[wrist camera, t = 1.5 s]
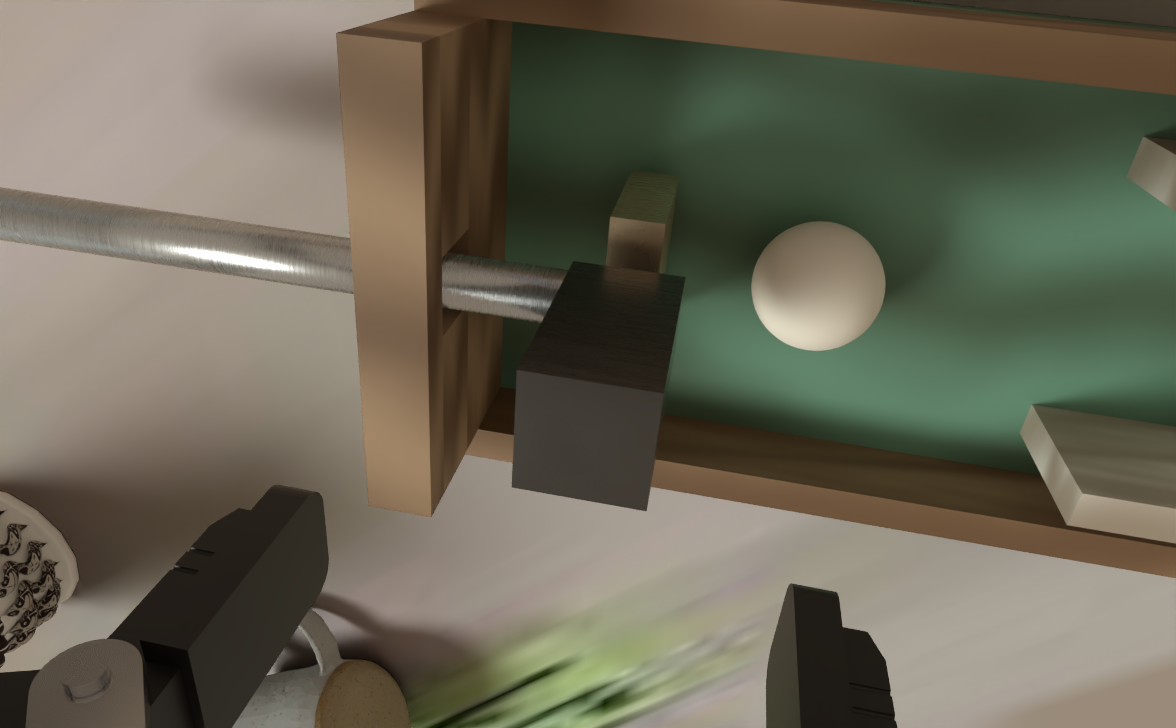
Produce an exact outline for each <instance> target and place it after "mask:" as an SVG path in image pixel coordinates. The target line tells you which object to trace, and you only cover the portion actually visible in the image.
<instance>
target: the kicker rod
mask: <svg viewBox="0 0 1176 728" xmlns="http://www.w3.org/2000/svg"><path fill="white" fill-rule="evenodd" d="M678 181H679V176H673V175H665V174H658V173H650V172H642V171H635V170H632V172H631V174H630V176H629V178H628V180H627V182H626V184H625V187H624V189H623V191H622V193H621V195H620V197H619V199H618V201H617V203H616V206H615V208H614V210H613V212H612V214H611V216H610V225H609V235H608V245H607V256H606V265H599V264H592V263H585V262H578V261H573V262H572V264H571V266H570V268H569V270H565V269H559V268H552V267H545V266H538V265H531V264H524V263H517V262H510V261H504V260H497V259H490V258H483V257H476V256H469V255H462V254H455V253H449V252H447V253H446V254H445V255H444V256H443V258H442V308H447V309H453V310H460V311H466V312H473V313H479V314H486V315H493V316H499V317H506V318H512V319H519V320H525V321H532V322H538V323H541V324H540V326H539V328H538V330H537V332H536V334H535V336H534V338H533V340H532V342H531V343H530V345H529V347H528V349H527V351H526V353H525V355H524V357H523V359H522V361H521V363H520V365H519V367H518V369H517V376H516V400H515V423H514V447H513V471H512V487H513V488H519V489H525V490H530V491H536V492H542V493H547V494H553V495H558V496H564V497H570V498H575V499H581V500H587V501H592V502H598V503H603V504H609V505H615V506H620V507H626V508H632V509H637V510H643V511H647V505H648V500H649V494H650V489H651V483H652V477H653V472H654V466H655V461H656V455H657V449H658V444H659V438H660V433H661V427H662V421H663V416H664V410H665V405H666V399H667V393H668V388H669V382H670V377H671V370H672V364H673V357H674V351H675V344H676V337H677V331H678V324H679V318H680V311H681V304H682V298H683V291H684V285H685V278H686V277H682V276H675V275H668V274H666V268H667V260H668V253H669V246H670V239H671V231H672V224H673V217H674V210H675V203H676V195H677V188H678ZM0 240H4V241H11V242H17V243H24V244H30V245H37V246H43V247H50V248H56V249H63V250H69V251H76V252H82V253H89V254H95V255H102V256H108V257H115V258H121V259H128V260H134V261H141V262H147V263H154V264H160V265H167V266H173V267H180V268H187V269H193V270H200V271H206V272H213V273H219V274H226V275H232V276H239V277H245V278H252V279H258V280H265V281H271V282H278V283H284V284H291V285H297V286H304V287H310V288H317V289H323V290H330V291H336V292H343V293H349V294H354V285H353V270H352V256H351V241H350V238H345V237H339V236H332V235H325V234H318V233H311V232H304V231H297V230H290V229H284V228H277V227H270V226H263V225H256V224H249V223H242V222H235V221H229V220H222V219H215V218H208V217H201V216H194V215H187V214H180V213H174V212H167V211H160V210H153V209H146V208H139V207H132V206H125V205H119V204H112V203H105V202H98V201H91V200H84V199H77V198H70V197H64V196H57V195H50V194H43V193H36V192H29V191H22V190H15V189H9V188H2V187H0Z"/></svg>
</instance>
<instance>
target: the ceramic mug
mask: <svg viewBox="0 0 1176 728" xmlns="http://www.w3.org/2000/svg"><path fill="white" fill-rule="evenodd" d="M298 628H299V629H300V630H301V631H302V632H303V634H304V635H305V636H306V637H307V639H308V641H309V643H310V645H311V647H312V648H313V650H314V652H315V654H316V659H317V661H318V664H317V665H315V666H312V667H308V668H302V669H296V670H290V671H285V672H280V673H276V674H272V675H267V676H265V678H264V680H263V681H262V683H261V684H260V686H259V687H258V689H257V690H256V692H255V693H254V695H253V696H252V698H251V699H250V701H249V703H248V704H247V706H246V707H245V709H244V710H243V712H242V713H241V715H240V716H239V718H238V719H237V721H236V722H235V724H234V725H233V727H232V728H411V724H410V716H409V712H408V708H407V704H406V701H405V698H404V696H403V694H402V692H401V690H400V688H399V686H398V684H397V683H396V681H395V680H394V679H393V678H392V676H391V675H390V674H389V673H388V672H387V671H386V670H384V669H383V668H382V667H380V666H379V665H378V664H376V663H373V662H371V661H366V660H361V659H358V660H343V659H342V658H341V657H340V654H339V649H338V646H337V643H336V639H335V637H334V635H333V634H332V632H331V631H330V630H329V628H328V626H327V625H326V624H325V622H324V620H323V619H322V618H321V617H320V616H319V615H318V614H317V613H316V612H314V611H313V610H312V609H309V611H308V612H307V614H306V615H305V617H304V618H303V620H302V621H301V623H300V624H299V626H298Z"/></svg>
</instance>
